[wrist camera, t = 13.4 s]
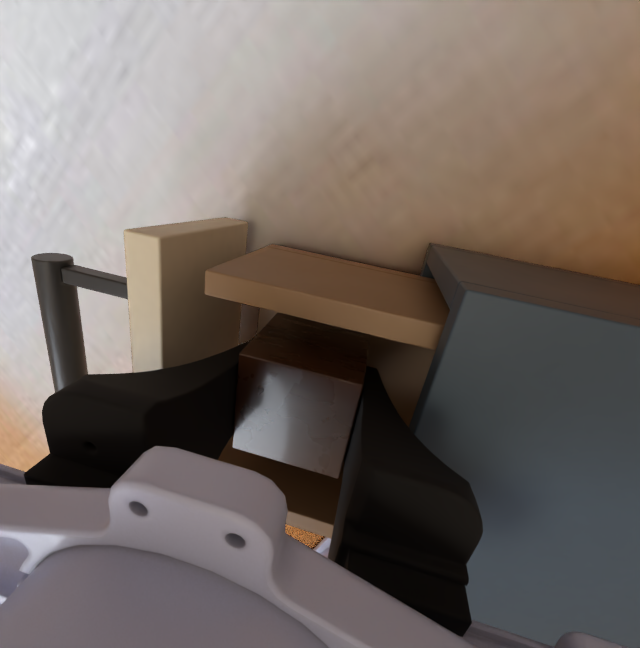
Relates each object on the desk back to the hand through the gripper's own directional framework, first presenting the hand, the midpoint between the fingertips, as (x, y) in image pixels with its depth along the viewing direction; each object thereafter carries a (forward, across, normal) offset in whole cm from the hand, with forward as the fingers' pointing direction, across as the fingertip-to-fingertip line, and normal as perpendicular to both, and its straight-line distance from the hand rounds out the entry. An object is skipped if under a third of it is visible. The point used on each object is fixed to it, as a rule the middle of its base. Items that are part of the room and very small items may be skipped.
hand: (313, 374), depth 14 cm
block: (+1, 0, 0) cm, 1 cm away
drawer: (+3, +2, 0) cm, 4 cm away
